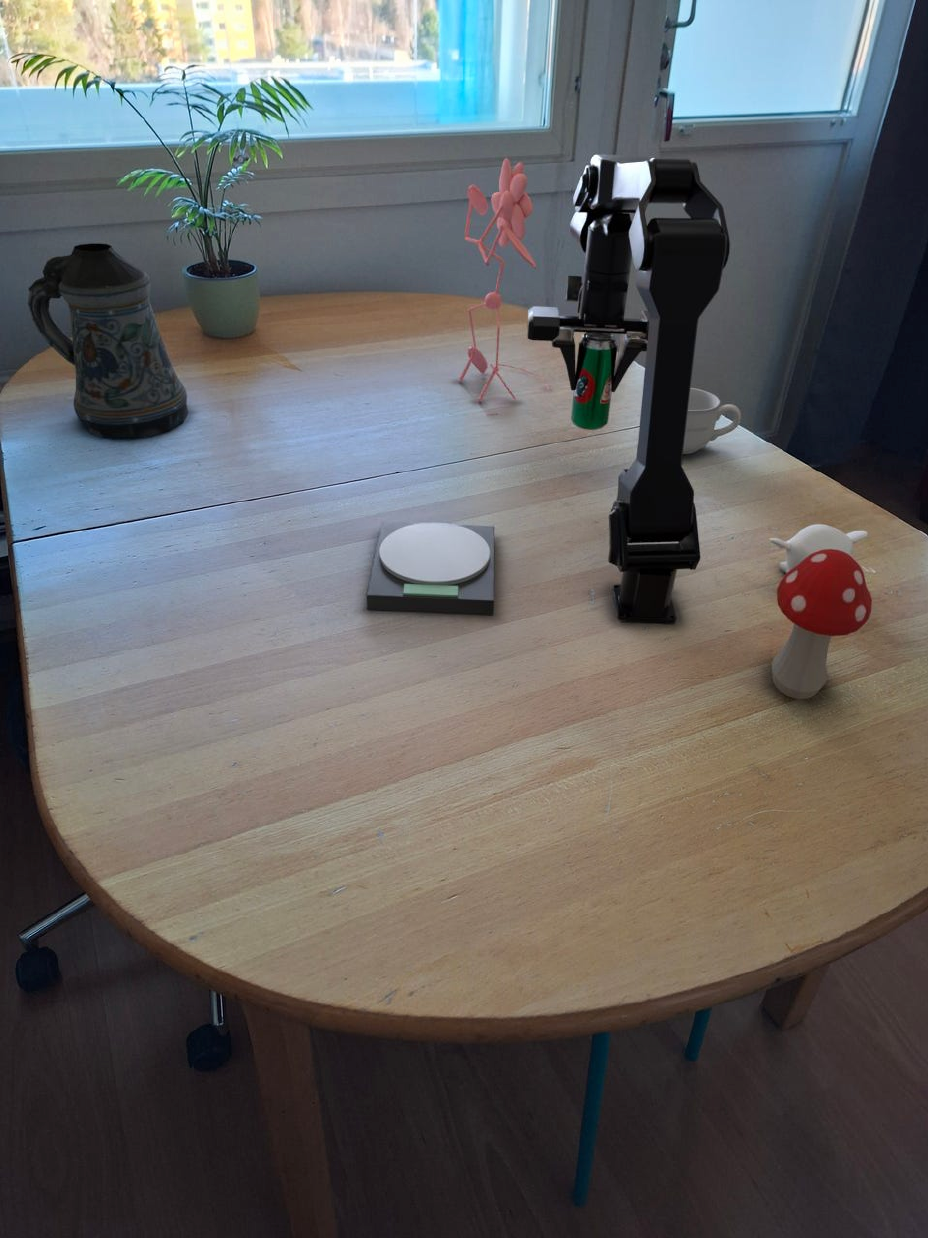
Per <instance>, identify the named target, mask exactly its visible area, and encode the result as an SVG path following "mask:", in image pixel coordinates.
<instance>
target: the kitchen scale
mask: <svg viewBox="0 0 928 1238" xmlns="http://www.w3.org/2000/svg"><path fill="white" fill-rule="evenodd" d="M371 567H372V568H371V572H370V575H369V581H368V586H367V591H366V610H370V611H390V612H411V613H412V612H415V613H437V614H438V613H439V614H459V615H460V614H461V615H485V616H493V615H494V610H495V609H494V608H495V526H494V525H489V526H488V525H473V524H471V525H470V524H452V523H448V522H447V523H446V522H401V521H399V522H397V521H381V524H380V529H379V534H378V540H377V543H376V548H375V553H374V557H373V562H372V566H371Z"/></svg>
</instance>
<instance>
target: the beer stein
mask: <svg viewBox="0 0 928 1238" xmlns="http://www.w3.org/2000/svg"><path fill="white" fill-rule="evenodd" d="M42 274H43V276H42V277H40V278H37V279H36V280H35V281H33V282H32V284H31V285H30V286H29V287H28V292H29V293H28V297H27V307H28V312H29V314H30V317H31V320H32V322H33V324H34V326H35V328H36V330H37V331H38V332H39V334H40V335H41V336H42V337H43V338H44V340H45V341H46V342H47V343H48V344H49V346H50V347H51V348H53V350H54V351H56V352H57V353H58V354H59V355H60V356H61V357H62V358H63V359H65V360H66V361H67V362H69V363H70V364H71V365H72V366H74V368H75V391H74V397H73V409H74V412H75V414H76V416H77V418H78V419H79V421H80V424H81V427H82V429H84V430H85V432H87V433H88V434H89V435H91V436H94V437H98V438H100V439H101V438H102V439H108V440H140V439H147V438H152V437H155V436H158V435H159V436H160V435H162V434H165V433H168V432H171V431H172V430H174V429H175V428H177V427H179V426H180V425H182V424H184V422H185V420H186V419H187V417H188V414H189V409H188V405H187V403H188V393H187V390H186V387H185V386H184V384H183V383H182V382H181V380H180V379H179V377H178V375H177V373H176V371H175V368H174V366H173V364H172V361H171V359H170V357H169V354H168V351H167V349H166V346H165V344H164V341H163V338H162V334H161V332H160V329H159V326H158V321H157V319H156V317H155V313H154V311H153V308H152V305H151V301H150V293H151V278H150V276H149V275H148V274H147V273H146V272H145V271H144V270H143V269H142V268H140V267H138V266H137V265H135V264H134V263H132V262H130V261H128V260H127V259H125V258H124V257H123V256H122V255H120V254H119V253H118V252H117V251H115V249H114V248H113V246H112V245H110V244H108V243H96V242H95V243H94V242H93V243H81V244H77V245H74V246H73V249H72V251H71V254H68V255H62V256H58V255H57V256H55V257H51V258H50V259H49V260H47V261H46V263H45V265H44V266H43V269H42ZM61 297H62V298H63V300H64V301H65V302H66V303H67V305H68V309H69V315H70V316H69V317H70V328H71V338H70V337H69V336H68V335H67V334H66V333H65V332H64V331H63V330H62V329H61V327H60V326H59V324H57V322H56V321H55V320H54V318H53V316H52V314H51V311H50V301H51V299H60V298H61Z"/></svg>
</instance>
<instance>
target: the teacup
mask: <svg viewBox="0 0 928 1238" xmlns="http://www.w3.org/2000/svg"><path fill="white" fill-rule="evenodd" d="M727 412H728V413H729V412H730V413H732V414H733V417H734V418H733V421H732V422H731V423H730V424H728V425H726V426H725V427H721V428H718V429H715V428H716V423H717V421H719V420H720V418H721V416H722V415H723V414H725V413H727ZM741 420H742V413H741V410H740V409H739V407H737V406H736V405H735V404H730V403H727V404H722V405H721V400H720V398H719V397H718V396H716V395H715V394H713V393H712V392H710V391H709V392H708V391H706V390H703V389H699V388H695V387H690V396H689V404H688V413H687V422H686V431H685V439H684V448H683V455H689V454H693V453H696V452H697V451H699V450H700V449H702V448H704V447H705V446H706V445H708V444H709V443H710V442H713V441H715V440H717V438H718V437H721V436H725V435H727V434H729V433H731V432H733V431H734V430H736V429H737V428H738V426H739V425H740V423H741Z"/></svg>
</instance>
